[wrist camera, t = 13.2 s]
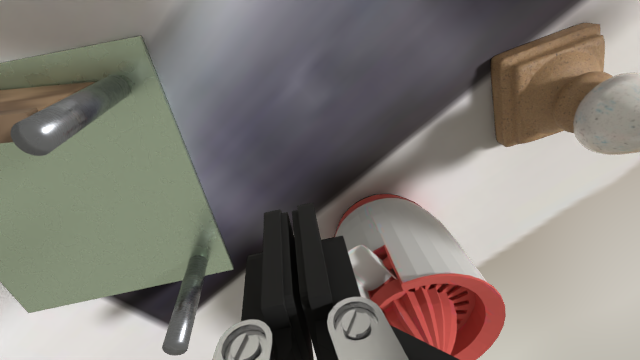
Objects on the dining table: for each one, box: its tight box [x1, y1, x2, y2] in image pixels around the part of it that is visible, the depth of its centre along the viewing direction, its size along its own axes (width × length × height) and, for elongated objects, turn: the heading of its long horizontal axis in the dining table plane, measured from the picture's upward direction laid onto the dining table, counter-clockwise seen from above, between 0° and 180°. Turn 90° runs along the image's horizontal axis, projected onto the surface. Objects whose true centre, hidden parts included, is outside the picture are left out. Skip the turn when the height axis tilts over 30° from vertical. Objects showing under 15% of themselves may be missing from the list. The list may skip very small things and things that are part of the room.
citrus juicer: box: [334, 194, 505, 360], centre depth 38 cm, size 16×17×20 cm
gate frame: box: [0, 36, 234, 355], centre depth 33 cm, size 30×28×14 cm
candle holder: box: [491, 23, 640, 155], centre depth 29 cm, size 11×11×24 cm
